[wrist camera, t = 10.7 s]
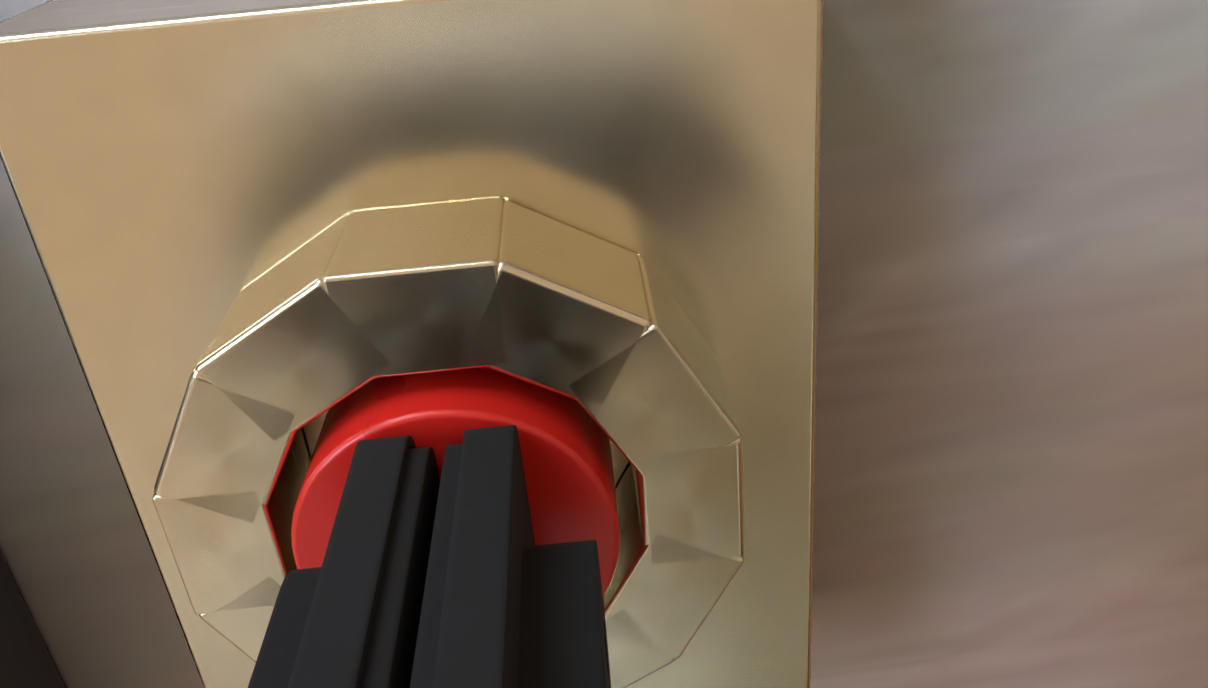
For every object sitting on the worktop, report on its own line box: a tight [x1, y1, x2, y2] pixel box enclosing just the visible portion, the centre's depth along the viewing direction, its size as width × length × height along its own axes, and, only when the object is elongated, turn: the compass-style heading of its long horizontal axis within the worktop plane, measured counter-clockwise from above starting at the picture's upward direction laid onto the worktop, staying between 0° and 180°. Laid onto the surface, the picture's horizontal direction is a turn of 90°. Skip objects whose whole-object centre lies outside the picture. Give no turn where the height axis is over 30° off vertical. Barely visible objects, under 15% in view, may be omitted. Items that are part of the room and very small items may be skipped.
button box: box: [0, 0, 823, 688], centre depth 13 cm, size 11×9×4 cm
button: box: [291, 367, 620, 596], centre depth 12 cm, size 4×4×2 cm
